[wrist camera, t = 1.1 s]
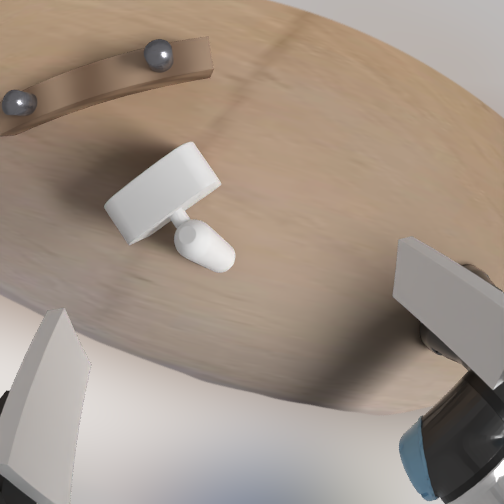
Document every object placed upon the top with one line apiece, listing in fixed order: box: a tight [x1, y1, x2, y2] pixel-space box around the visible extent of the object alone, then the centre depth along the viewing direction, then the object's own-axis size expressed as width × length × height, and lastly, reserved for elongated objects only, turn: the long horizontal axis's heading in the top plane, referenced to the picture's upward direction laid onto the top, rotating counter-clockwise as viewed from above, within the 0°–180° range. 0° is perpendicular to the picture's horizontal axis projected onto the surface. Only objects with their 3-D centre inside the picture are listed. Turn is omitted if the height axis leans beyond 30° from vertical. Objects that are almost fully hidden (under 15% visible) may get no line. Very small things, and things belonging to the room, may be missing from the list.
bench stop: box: [0, 36, 214, 136], centre depth 20 cm, size 20×3×7 cm, turn 98°
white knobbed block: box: [104, 142, 235, 272], centre depth 26 cm, size 8×10×10 cm
